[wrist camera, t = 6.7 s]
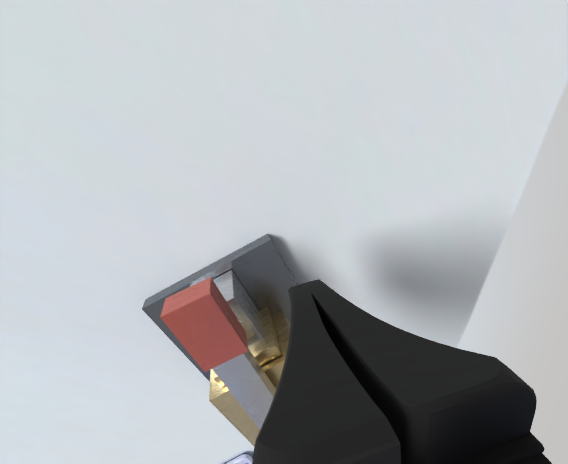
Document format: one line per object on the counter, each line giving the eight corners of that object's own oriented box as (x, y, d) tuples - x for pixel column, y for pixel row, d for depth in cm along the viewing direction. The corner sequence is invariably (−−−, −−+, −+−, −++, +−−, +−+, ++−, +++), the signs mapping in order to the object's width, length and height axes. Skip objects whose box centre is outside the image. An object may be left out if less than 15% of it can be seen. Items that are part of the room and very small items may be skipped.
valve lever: (295, 405, 18) (302, 432, 16) (263, 421, 18) (267, 450, 16) (210, 272, 13) (209, 293, 12) (167, 293, 13) (160, 317, 12)
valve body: (349, 377, 25) (377, 434, 21) (260, 425, 25) (268, 493, 21) (267, 233, 19) (283, 272, 14) (145, 299, 19) (121, 359, 14)
